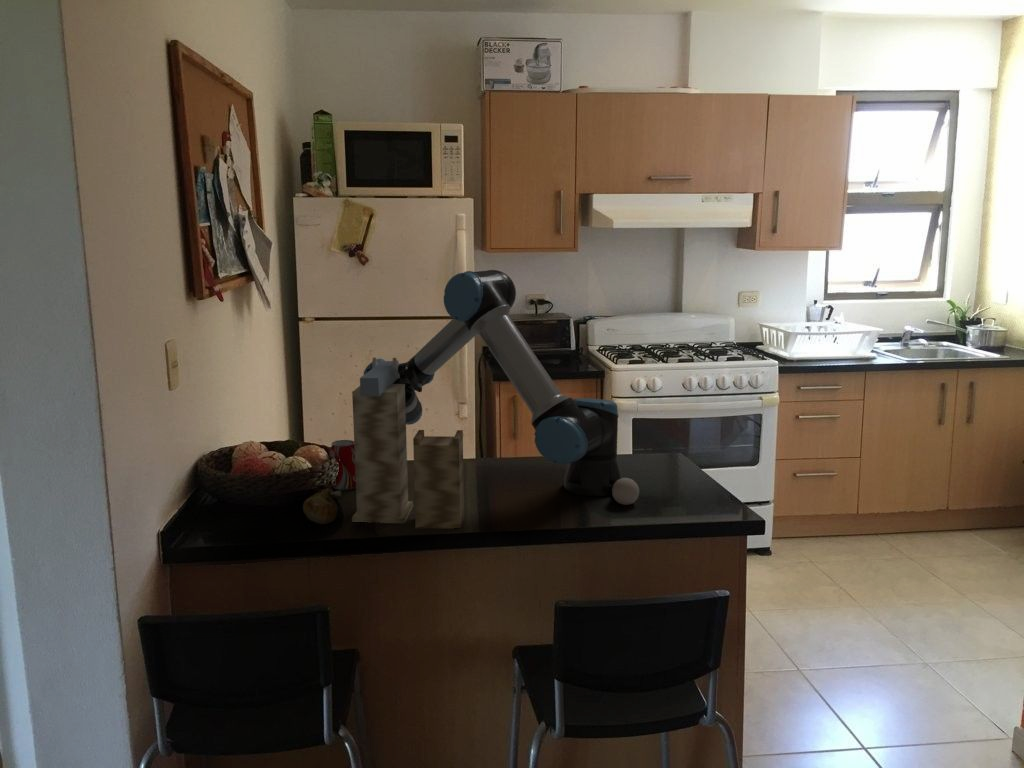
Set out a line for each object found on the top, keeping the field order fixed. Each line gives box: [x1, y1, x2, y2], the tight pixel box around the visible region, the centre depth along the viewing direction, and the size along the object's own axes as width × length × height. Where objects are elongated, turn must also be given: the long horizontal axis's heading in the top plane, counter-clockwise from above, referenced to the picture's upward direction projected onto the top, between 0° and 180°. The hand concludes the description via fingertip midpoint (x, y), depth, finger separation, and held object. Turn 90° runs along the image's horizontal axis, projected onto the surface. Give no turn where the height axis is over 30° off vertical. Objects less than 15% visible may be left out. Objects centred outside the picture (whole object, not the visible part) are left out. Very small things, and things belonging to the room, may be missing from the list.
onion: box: [302, 488, 342, 525], centre depth 189 cm, size 8×8×8 cm
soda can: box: [329, 439, 356, 492], centre depth 214 cm, size 7×7×12 cm
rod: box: [359, 360, 400, 396], centre depth 191 cm, size 4×24×4 cm, turn 177°
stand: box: [351, 384, 414, 524], centre depth 192 cm, size 12×12×30 cm
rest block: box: [412, 429, 465, 529], centre depth 187 cm, size 10×8×20 cm
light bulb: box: [611, 477, 640, 506], centre depth 203 cm, size 7×7×11 cm
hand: (384, 363), depth 195 cm, fingers closed on rod, 4 cm apart
